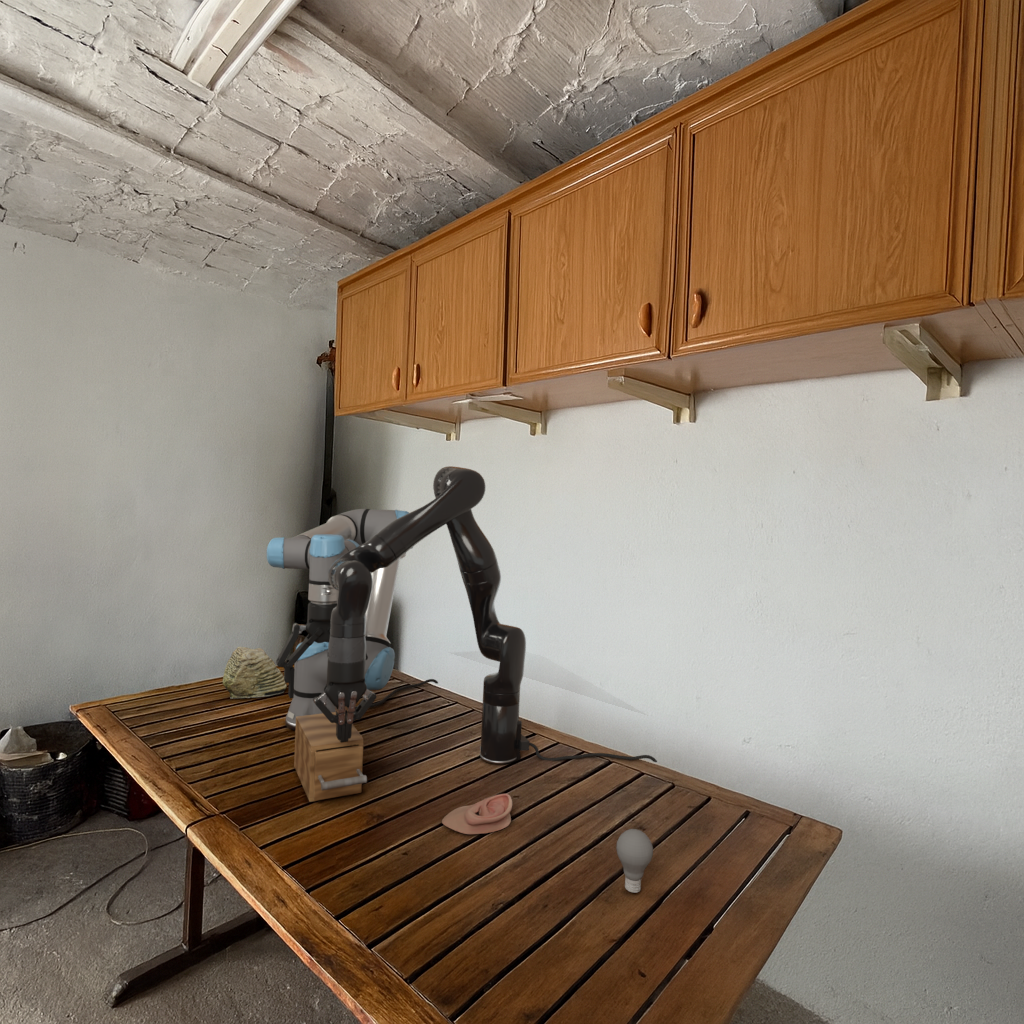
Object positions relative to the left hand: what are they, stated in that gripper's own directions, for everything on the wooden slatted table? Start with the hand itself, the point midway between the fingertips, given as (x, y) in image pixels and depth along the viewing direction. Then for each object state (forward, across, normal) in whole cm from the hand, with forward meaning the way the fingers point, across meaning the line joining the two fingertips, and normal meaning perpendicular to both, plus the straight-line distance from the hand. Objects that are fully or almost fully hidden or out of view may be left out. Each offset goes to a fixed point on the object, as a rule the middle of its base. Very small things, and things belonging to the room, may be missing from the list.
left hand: (321, 693), depth 146 cm
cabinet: (+18, +1, -5) cm, 19 cm away
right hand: (+4, +1, -19) cm, 19 cm away
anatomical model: (+18, +25, -35) cm, 46 cm away
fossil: (+18, -9, +62) cm, 65 cm away
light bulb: (+18, +39, -66) cm, 79 cm away
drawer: (+17, +1, -10) cm, 20 cm away
